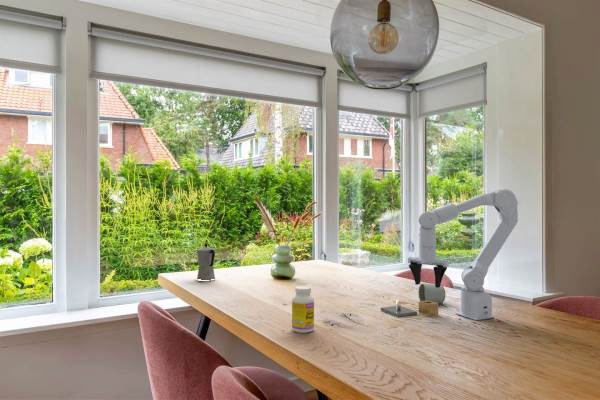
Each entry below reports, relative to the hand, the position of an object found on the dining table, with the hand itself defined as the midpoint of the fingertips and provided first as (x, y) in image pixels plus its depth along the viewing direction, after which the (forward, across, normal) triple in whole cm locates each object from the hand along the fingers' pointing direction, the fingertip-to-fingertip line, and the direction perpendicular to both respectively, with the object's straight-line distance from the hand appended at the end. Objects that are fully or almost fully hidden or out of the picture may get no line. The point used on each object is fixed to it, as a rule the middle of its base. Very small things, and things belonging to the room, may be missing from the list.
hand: (427, 285), depth 155 cm
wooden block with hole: (+9, -1, +1) cm, 10 cm away
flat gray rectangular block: (+9, +8, +7) cm, 14 cm away
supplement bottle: (+10, +16, +45) cm, 49 cm away
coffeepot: (+10, +109, +18) cm, 111 cm away
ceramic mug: (+10, +7, -15) cm, 19 cm away
